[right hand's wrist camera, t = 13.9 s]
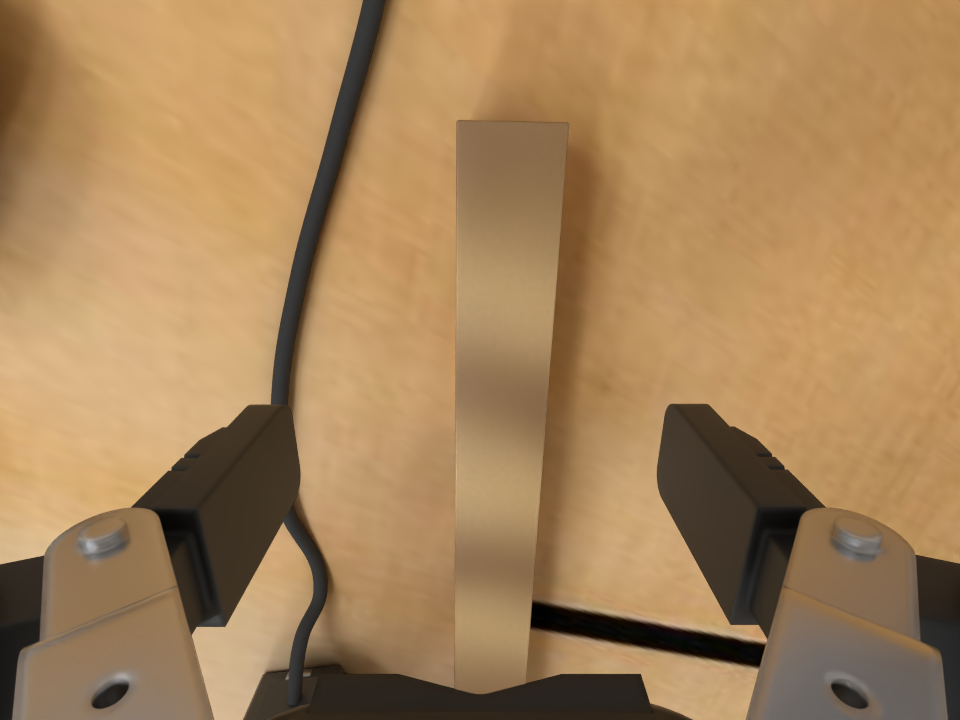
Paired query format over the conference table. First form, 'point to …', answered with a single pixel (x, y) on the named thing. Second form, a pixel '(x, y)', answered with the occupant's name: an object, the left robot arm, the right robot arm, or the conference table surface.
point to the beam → (502, 383)
